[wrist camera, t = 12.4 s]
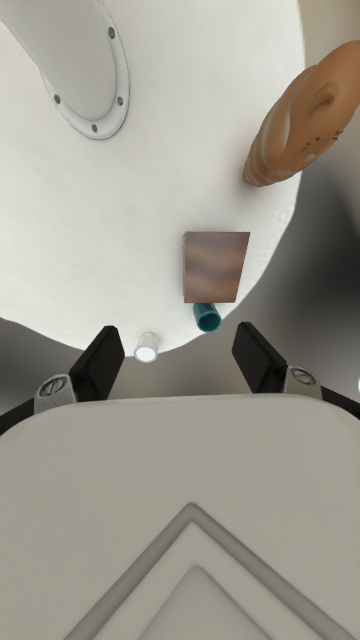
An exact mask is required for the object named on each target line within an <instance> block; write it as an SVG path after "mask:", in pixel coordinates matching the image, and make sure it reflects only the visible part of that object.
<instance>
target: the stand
mask: <svg viewBox="0 0 360 640" xmlns="http://www.w3.org/2000/svg"><path fill="white" fill-rule="evenodd" d="M249 236H250V232H186V233H185V234H184V260H183V297H184V303H235V300H236V295H237V291H238V286H239V282H240V277H241V273H242V268H243V263H244V259H245V254H246V250H247V245H248V241H249Z"/></svg>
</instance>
